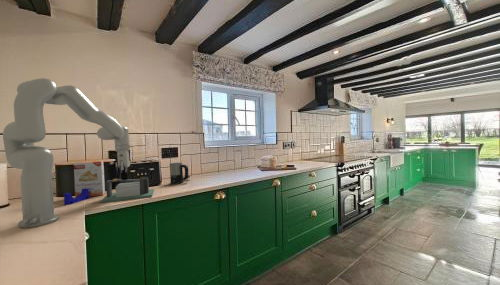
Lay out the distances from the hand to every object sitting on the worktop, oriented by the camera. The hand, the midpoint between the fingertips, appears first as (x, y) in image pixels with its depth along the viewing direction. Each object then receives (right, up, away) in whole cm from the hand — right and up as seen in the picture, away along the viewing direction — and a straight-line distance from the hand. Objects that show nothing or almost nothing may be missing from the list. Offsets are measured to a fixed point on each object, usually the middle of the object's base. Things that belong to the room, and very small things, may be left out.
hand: (124, 179), depth 133 cm
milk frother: (+20, -9, +40) cm, 46 cm away
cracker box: (-23, -11, +5) cm, 26 cm away
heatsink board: (+3, -10, 0) cm, 10 cm away
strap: (+2, -1, 0) cm, 3 cm away
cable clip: (-23, -12, -7) cm, 27 cm away
